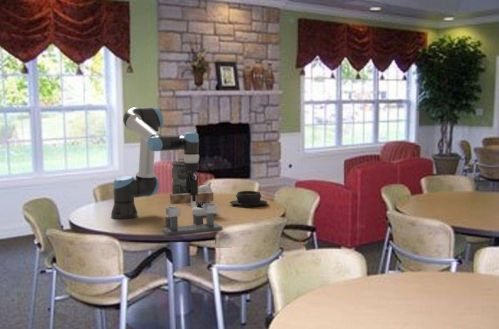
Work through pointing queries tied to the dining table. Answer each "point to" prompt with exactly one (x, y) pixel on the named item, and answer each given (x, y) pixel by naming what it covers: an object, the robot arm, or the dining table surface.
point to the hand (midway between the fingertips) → (192, 206)
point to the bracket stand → (174, 228)
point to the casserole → (248, 198)
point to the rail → (187, 197)
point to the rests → (196, 220)
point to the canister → (179, 177)
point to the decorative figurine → (199, 207)
